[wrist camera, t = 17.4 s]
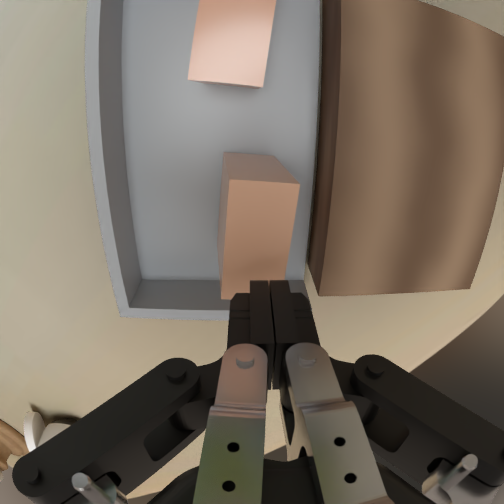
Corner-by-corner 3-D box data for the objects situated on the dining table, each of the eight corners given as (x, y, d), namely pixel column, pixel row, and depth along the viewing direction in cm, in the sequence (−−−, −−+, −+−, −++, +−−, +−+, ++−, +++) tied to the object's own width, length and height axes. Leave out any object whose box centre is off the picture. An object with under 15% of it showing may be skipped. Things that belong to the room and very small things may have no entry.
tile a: (282, -40, 9) (208, -47, 9) (262, 87, 12) (187, 80, 11) (270, -3, 14) (218, -9, 14) (256, 89, 17) (204, 83, 17)
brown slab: (477, 42, 15) (512, 41, 11) (445, 262, 23) (469, 288, 20) (322, 0, 15) (340, -19, 11) (307, 263, 23) (318, 296, 20)
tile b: (300, 184, 14) (229, 179, 13) (280, 299, 16) (221, 299, 16) (273, 155, 19) (223, 152, 18) (262, 245, 22) (216, 243, 21)
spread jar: (122, 450, 37) (108, 519, 27) (68, 447, 38) (50, 505, 28) (72, 402, 32) (44, 481, 21) (19, 401, 33) (-9, 465, 22)
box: (317, -25, 14) (333, -47, 10) (301, 284, 24) (310, 319, 20) (116, -16, 13) (91, -34, 10) (135, 283, 24) (120, 316, 20)
